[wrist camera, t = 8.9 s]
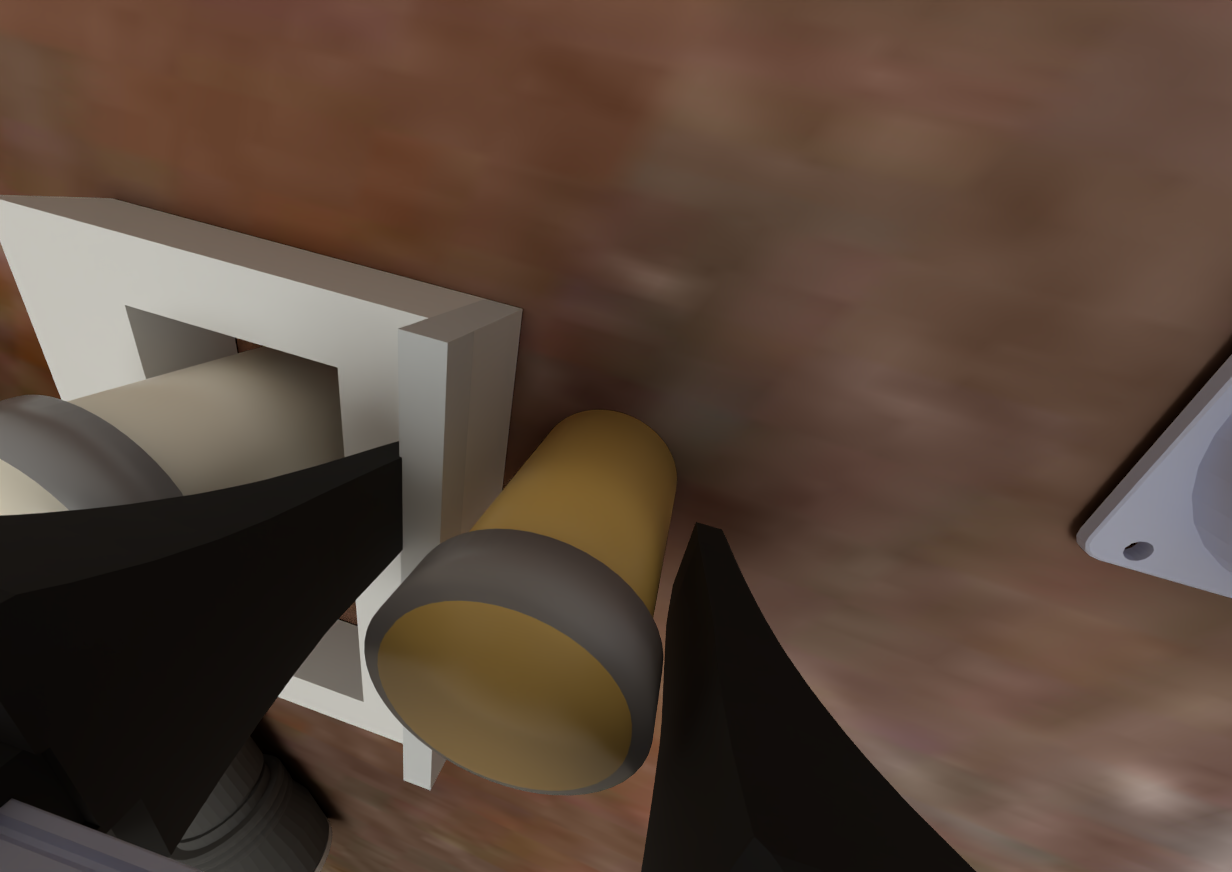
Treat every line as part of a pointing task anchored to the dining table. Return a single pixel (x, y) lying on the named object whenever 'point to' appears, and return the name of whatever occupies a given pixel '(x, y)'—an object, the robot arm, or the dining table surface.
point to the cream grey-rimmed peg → (170, 434)
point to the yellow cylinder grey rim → (541, 618)
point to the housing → (300, 325)
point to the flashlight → (257, 821)
